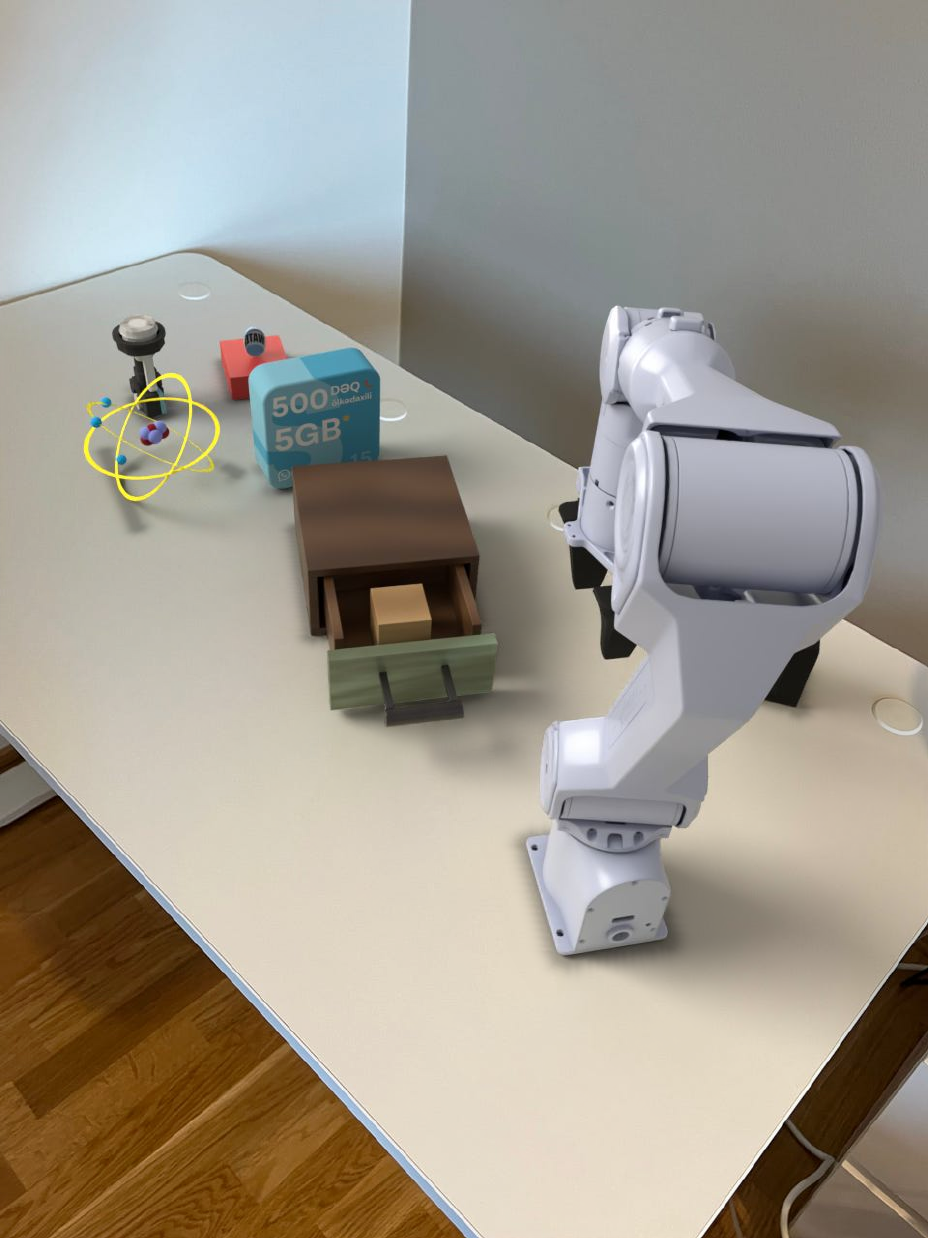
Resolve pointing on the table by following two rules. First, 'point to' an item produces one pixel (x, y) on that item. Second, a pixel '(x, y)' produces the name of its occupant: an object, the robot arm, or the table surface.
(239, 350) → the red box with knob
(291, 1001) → the table surface
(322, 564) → the cabinet
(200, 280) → the table surface
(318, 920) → the table surface
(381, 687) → the drawer
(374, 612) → the block
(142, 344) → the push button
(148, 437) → the atom model
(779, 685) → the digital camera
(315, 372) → the data package
